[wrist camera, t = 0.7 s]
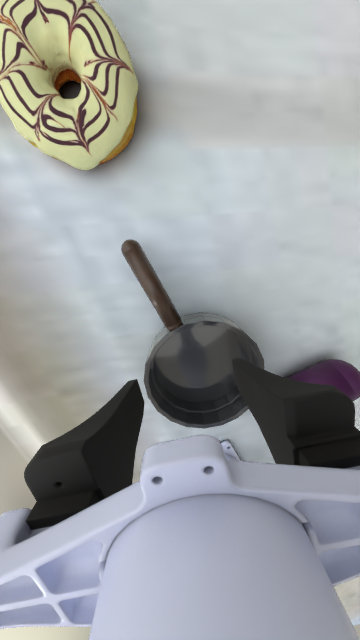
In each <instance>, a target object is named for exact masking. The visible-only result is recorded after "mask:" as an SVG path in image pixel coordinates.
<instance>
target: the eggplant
mask: <svg viewBox="0 0 360 640" xmlns="http://www.w3.org/2000/svg"><path fill="white" fill-rule="evenodd" d="M287 378H288V379H292V380H296V381H301V382H307V383H313V384H322V385H333V386H334V387H336V388H337V389H339V390H340V391H341V392H343V393H344V394H345V395H347V396H348V397H349V398H350V399H351V400H352V401H354V400H356V399H358V398H359V397H360V372H359V371H358V370H357V369H356V368H355V367H354V366H353V365H351V364H349V363H347V362H345V361H342V360H336V359H329V360H325V361H322V362H319V363H317V364H315V365H313V366H311V367H309V368H307V369H304V370H302V371H300V372H298V373H296V374H294V375H292V376H290V377H287Z"/></svg>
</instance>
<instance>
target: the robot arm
mask: <svg viewBox="0 0 360 640" xmlns="http://www.w3.org/2000/svg"><path fill="white" fill-rule="evenodd" d="M232 363H233V370H234V376H235V382H236V385H237V387H238V390H239V392H240V394H241V396H242V398H243V400H244V401H245V403H246V405H247V406H248V408H249V410H250V411H251V413H252V415H253V416H254V418H255V420H256V421H257V423H258V425H259V427H260V429H261V431H262V434H263V436H264V438H265V440H266V442H267V444H268V447H269V449H270V451H271V453H272V456H273V458H274V460H275V463H276V464H271V463H257V462H244V461H241V460H240V458H239V456H238V455H237V453H236V451H235V450H234V448H233V447H232V445H231V443H230V442H229V441H228V440H226V441H224V442H221V443H220V441H219V440H218V439H217V438H215V437H213V436H211V435H196V436H191V437H187V438H182V439H177V440H172V441H167V442H162V443H158V444H155V445H153V446H151V447H149V448H148V449H147V450H146V452H145V453H144V455H143V461H142V467H141V474H140V481H138V482H136V483H134V484H132V478H133V468H134V459H135V451H136V445H137V441H138V436H139V432H140V427H141V423H142V418H143V412H144V400H143V397H142V393H141V390H140V387H139V384H138V381H137V379H136V380H131V381H129V382H127V383H126V384H125V385H124V386H123V387H122V388H121V390H120V391H119V392H118V393H117V394H116V395H115V396H114V397H113V398H112V399H111V400H110V401H109V402H108V403H107V404H106V405H104V406H103V407H102V408H101V409H100V410H99V411H98V412H96V413H95V414H94V415H93V416H91V417H90V418H89V419H87V420H86V421H84V422H83V423H81V424H80V425H79V426H77V427H75V428H74V429H72V430H71V431H69V432H67V433H66V434H64V435H62V436H60V437H58V438H56V439H54V440H52V441H50V442H48V443H46V444H44V445H42V446H41V448H40V449H39V450H38V452H37V453H36V454H35V456H34V457H33V459H32V460H31V461H30V463H29V464H28V465H27V467H26V469H25V472H24V478H25V481H26V483H27V486H28V487H29V489H30V490H31V492H32V494H33V496H34V497H35V499H36V501H37V502H36V504H35V506H34V507H33V509H32V510H31V509H29V508H22V509H17V510H12V511H7V512H4V513H3V514H2V515H1V516H0V629H4V628H15V627H33V626H60V627H61V626H62V627H63V626H64V627H91V631H90V635H89V640H360V639H359V637H358V635H357V633H356V631H355V629H354V627H353V625H352V623H351V621H350V619H349V617H348V615H347V613H346V611H345V609H344V607H343V605H342V603H341V601H340V599H339V597H338V595H337V593H336V591H335V589H334V586H336V585H339V584H341V583H344V582H347V581H349V580H352V579H354V578H357V577H359V576H360V431H359V430H358V429H357V428H356V427H354V424H355V407H354V403H353V401H352V400H351V399H350V398H349V397H348V396H347V395H345V394H344V393H343V392H341V391H340V390H339V389H337V388H336V387H334V386H333V385H322V384H313V383H307V382H301V381H296V380H292V379H288V378H285V377H281V376H279V375H276V374H273V373H270V372H268V371H266V370H263V369H261V368H259V367H257V366H255V365H253V364H251V363H250V362H248V361H246V360H244V359H242V358H235V359H232Z"/></svg>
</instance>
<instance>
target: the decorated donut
mask: <svg viewBox="0 0 360 640" xmlns="http://www.w3.org/2000/svg"><path fill="white" fill-rule="evenodd" d="M72 80H74V81H77V82H78V83H80V84H81V91H80V94H79V96H78V97H76V98H75V99H63V98H62V97H61V95H60V93H59V88H60V87H61V86H62V85H64V84H65V83H66V82H68V81H72ZM137 92H138V81H137V78H136V75H135V72H134V69H133V65H132V62H131V59H130V55H129V53H128V51H127V49H126V46H125V44H124V42H123V41H122V39H121V37H120V35H119V33H118V31H117V29H116V28H115V26H114V24H113V23H112V20H111V19H110V18H109V16H108V15H107V14H106V13H105V11H104V10H103V9H102V8H101V6H100V5H99V4H98V3H97V2H96V1H95V0H0V103H1V105H2V106H3V108H4V110H5V112H6V113H7V114H8V116H9V117H10V118H11V120H12V122H13V124H14V126H15V128H16V130H17V131H18V132H19V133H20V134H21V135H22V136H23V137H24V138H25V139H27V140H28V141H29V142H30V143H31V144H32V145H33V146H35V147H37V148H39V149H40V150H41V151H42V152H43V153H44V154H46V155H49V156H51V157H53V158H55V159H59V160H61V161H63V162H65V163H67V164H69V165H71V166H72V167H74V168H78V169H80V170H90V169H93V168H94V167H96V166H97V165H98V164H101V163H105V162H106V161H109V160H111V159H112V158H114V157H115V156H117V155H118V154H119V153H120V152H121V151H122V150H123V149H124V148H125V147H126V146H127V145H128V143H129V141H130V140H131V138H132V136H133V132H134V126H135V122H136V117H137V98H136V94H137Z"/></svg>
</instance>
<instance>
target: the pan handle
mask: <svg viewBox="0 0 360 640" xmlns="http://www.w3.org/2000/svg"><path fill="white" fill-rule="evenodd" d="M121 249H122V254H123V255H124V257H125V259H126V261H127V262H128V264H129V266H130V267H131V269H132V271H133V272H134V274H135V276H136V277H137V279H138V281H139V282H140V284H141V286H142V288H143V289H144V291H145V293H146V294H147V296H148V298H149V299H150V301H151V303H152V304H153V306H154V308H155V309H156V311H157V313H158V315H159V316H160V318H161V320H162V321H163V323H164V325H165V326H166V328H167V329H168V330H170V331H172V330H175V329H177V328H178V327H180V326H181V325H182V319H181V317H180V315H179V314H178V312H177V310H176V308H175V307H174V305H173V303H172V301H171V299H170V298H169V296H168V294H167V292H166V291H165V289H164V287H163V285H162V283H161V282H160V280H159V278H158V276H157V275H156V273H155V271H154V269H153V267H152V266H151V264H150V262H149V260H148V258H147V257H146V255H145V253H144V251H143V250H142V248H141V246H140V244H139V243H138V242H137V241H135V240H126V241H125V242H124V243H123V244H122V248H121Z"/></svg>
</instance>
